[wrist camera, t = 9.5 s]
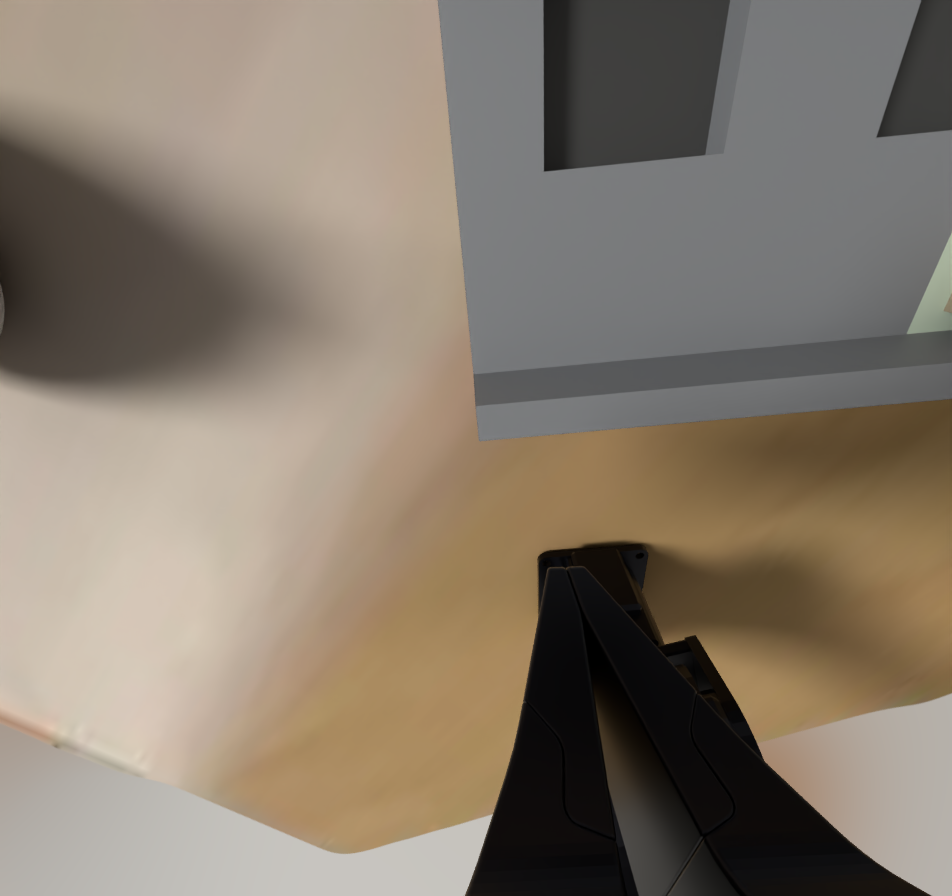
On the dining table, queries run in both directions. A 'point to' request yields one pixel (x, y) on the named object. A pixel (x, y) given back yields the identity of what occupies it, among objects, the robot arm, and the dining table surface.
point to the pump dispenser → (1, 309)
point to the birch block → (949, 305)
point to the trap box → (700, 207)
